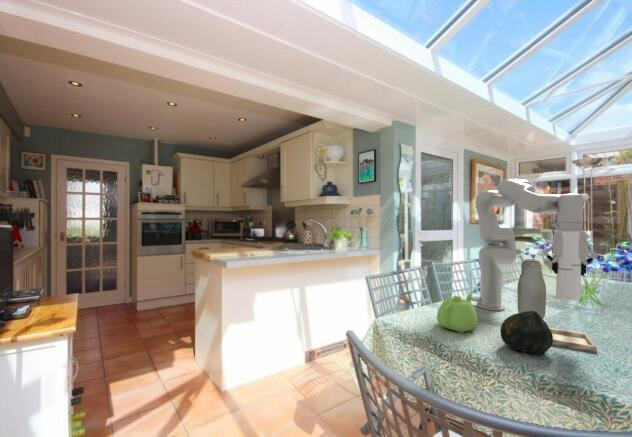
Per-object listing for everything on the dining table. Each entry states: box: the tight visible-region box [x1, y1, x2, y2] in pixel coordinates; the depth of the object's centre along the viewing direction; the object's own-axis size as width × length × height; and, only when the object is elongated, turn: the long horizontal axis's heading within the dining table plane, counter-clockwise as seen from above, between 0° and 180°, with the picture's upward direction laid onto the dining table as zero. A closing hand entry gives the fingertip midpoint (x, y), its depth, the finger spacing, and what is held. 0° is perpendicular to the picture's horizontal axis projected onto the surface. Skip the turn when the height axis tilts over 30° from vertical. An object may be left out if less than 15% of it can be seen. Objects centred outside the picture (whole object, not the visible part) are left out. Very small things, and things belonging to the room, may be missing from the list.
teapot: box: [436, 293, 479, 333], centre depth 130 cm, size 22×15×13 cm
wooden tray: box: [549, 327, 598, 354], centre depth 116 cm, size 14×14×2 cm
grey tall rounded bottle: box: [516, 258, 547, 320], centre depth 137 cm, size 10×10×28 cm
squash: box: [499, 311, 553, 355], centre depth 108 cm, size 14×15×15 cm
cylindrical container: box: [555, 231, 582, 301], centre depth 116 cm, size 7×7×25 cm
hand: (568, 273), depth 116 cm, fingers closed on cylindrical container, 7 cm apart
